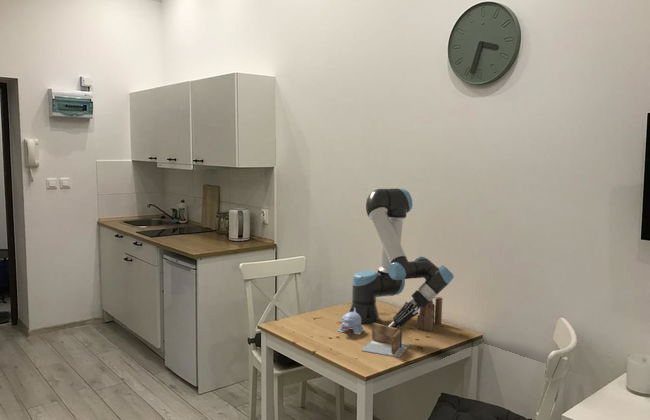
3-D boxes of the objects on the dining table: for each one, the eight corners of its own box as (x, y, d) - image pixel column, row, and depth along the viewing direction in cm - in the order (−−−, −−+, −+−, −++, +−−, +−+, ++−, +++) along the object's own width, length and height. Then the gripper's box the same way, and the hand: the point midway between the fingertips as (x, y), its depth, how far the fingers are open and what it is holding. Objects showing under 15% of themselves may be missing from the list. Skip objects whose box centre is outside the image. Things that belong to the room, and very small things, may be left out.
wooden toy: (430, 331, 247) (432, 278, 245) (416, 328, 251) (418, 276, 249) (442, 323, 260) (444, 272, 258) (429, 321, 264) (431, 271, 262)
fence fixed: (390, 355, 216) (391, 336, 215) (398, 346, 226) (398, 328, 225) (394, 355, 215) (395, 337, 214) (401, 347, 225) (402, 329, 224)
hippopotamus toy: (333, 335, 239) (333, 314, 238) (343, 325, 253) (344, 306, 252) (356, 338, 235) (357, 317, 235) (365, 328, 249) (366, 308, 249)
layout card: (361, 351, 220) (361, 350, 220) (372, 340, 233) (372, 339, 233) (399, 357, 213) (399, 356, 213) (408, 345, 227) (408, 344, 227)
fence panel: (397, 344, 226) (397, 328, 225) (395, 345, 225) (396, 329, 224) (373, 338, 234) (374, 322, 233) (372, 339, 233) (372, 323, 232)
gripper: (434, 305, 226) (394, 345, 225) (424, 297, 239) (387, 335, 238) (422, 293, 225) (382, 333, 224) (413, 286, 238) (375, 323, 237)
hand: (385, 334), depth 231 cm, fingers closed
